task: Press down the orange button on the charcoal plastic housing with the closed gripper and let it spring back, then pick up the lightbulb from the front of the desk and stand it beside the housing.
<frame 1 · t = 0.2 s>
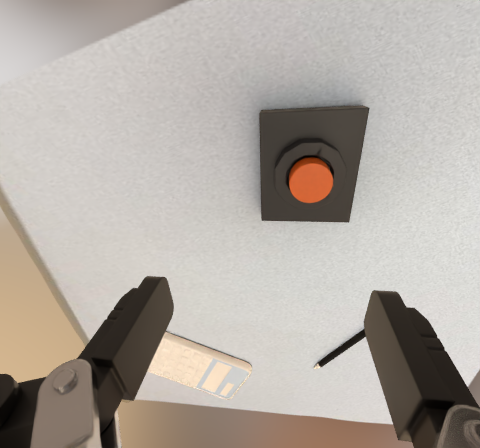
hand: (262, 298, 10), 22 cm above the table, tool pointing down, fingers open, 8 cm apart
pen: (348, 340, 43), on the table
button: (310, 180, 25), point 5 cm above the table, slide at 0.1 cm
calculator: (197, 362, 52), on the table
housing: (306, 165, 29), on the table
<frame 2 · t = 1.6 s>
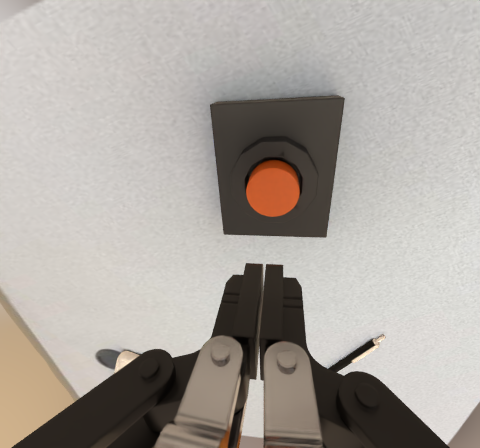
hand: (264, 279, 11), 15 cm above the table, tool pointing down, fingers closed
pen: (334, 364, 38), on the table
button: (272, 188, 20), point 5 cm above the table, slide at 0.1 cm
housing: (274, 169, 24), on the table
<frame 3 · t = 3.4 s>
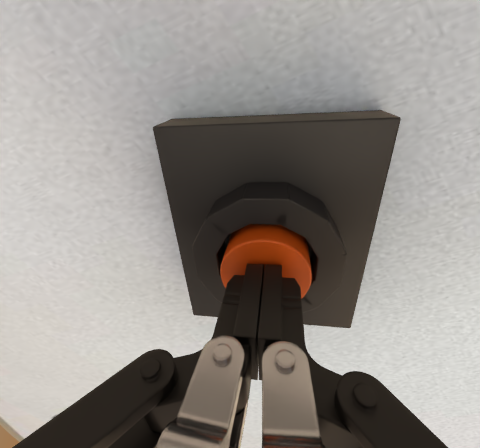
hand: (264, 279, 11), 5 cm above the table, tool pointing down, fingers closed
button: (266, 263, 12), point 4 cm above the table, slide at -0.8 cm, touching gripper
housing: (269, 223, 15), on the table
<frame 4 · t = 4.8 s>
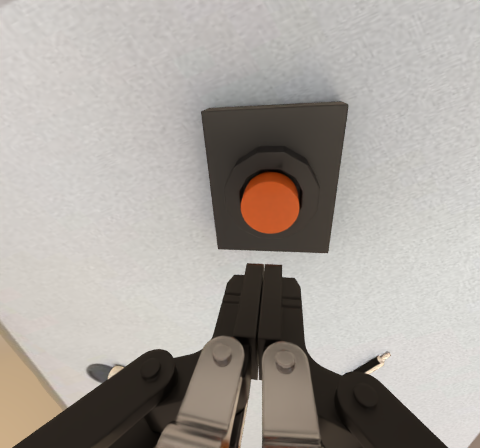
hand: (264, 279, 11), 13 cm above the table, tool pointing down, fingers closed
pen: (336, 381, 36), on the table
button: (270, 202, 18), point 5 cm above the table, slide at 0.1 cm
housing: (272, 180, 22), on the table
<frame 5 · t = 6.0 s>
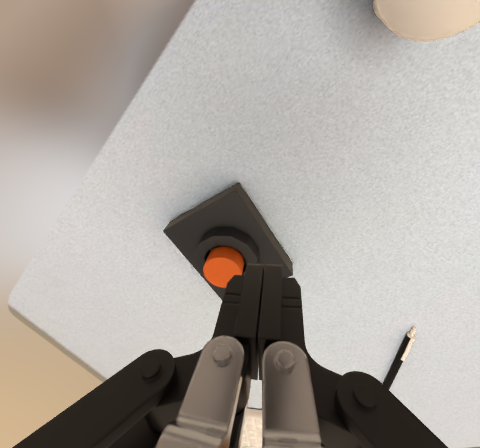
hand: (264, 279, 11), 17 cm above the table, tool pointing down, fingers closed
pen: (392, 366, 38), on the table
button: (224, 266, 27), point 5 cm above the table, slide at 0.1 cm
calculator: (266, 424, 52), on the table
lightbulb: (389, 0, 18), on the table
housing: (231, 242, 31), on the table
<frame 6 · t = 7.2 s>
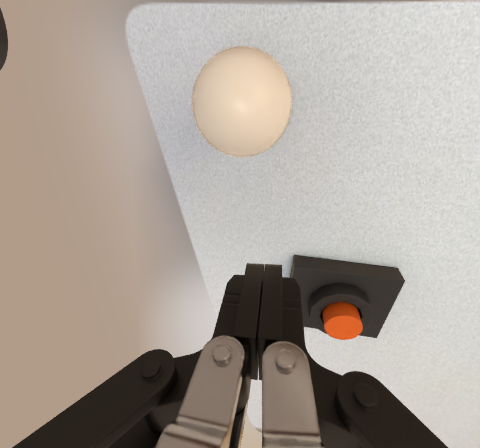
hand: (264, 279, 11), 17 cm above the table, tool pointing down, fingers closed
button: (341, 320, 29), point 5 cm above the table, slide at 0.1 cm
lightbulb: (255, 96, 23), on the table
housing: (335, 291, 33), on the table
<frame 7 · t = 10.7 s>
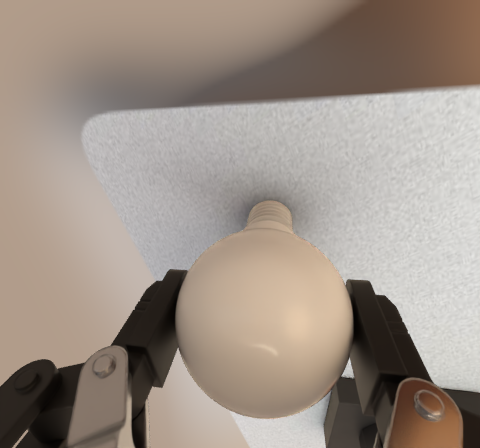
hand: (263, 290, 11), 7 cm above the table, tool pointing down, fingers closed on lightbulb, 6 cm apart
lightbulb: (270, 213, 16), on the table, touching gripper
housing: (391, 412, 25), on the table
when the fingers open (7 cm above the table, at t = 17.1 s): lightbulb stays where it is, on the table.
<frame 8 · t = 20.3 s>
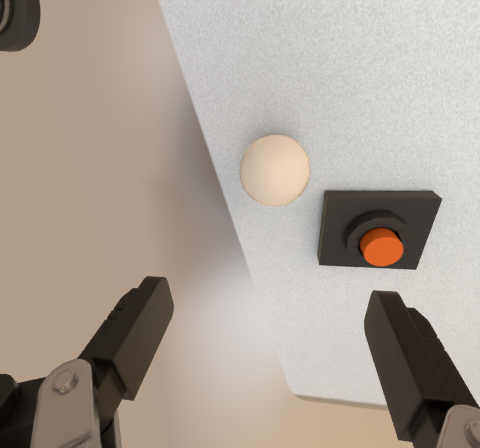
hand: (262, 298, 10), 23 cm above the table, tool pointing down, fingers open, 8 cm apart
button: (380, 247, 29), point 5 cm above the table, slide at 0.1 cm
lightbulb: (276, 149, 30), on the table
housing: (369, 226, 33), on the table
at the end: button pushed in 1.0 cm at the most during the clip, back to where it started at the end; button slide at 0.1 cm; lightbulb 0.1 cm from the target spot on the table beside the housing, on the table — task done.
